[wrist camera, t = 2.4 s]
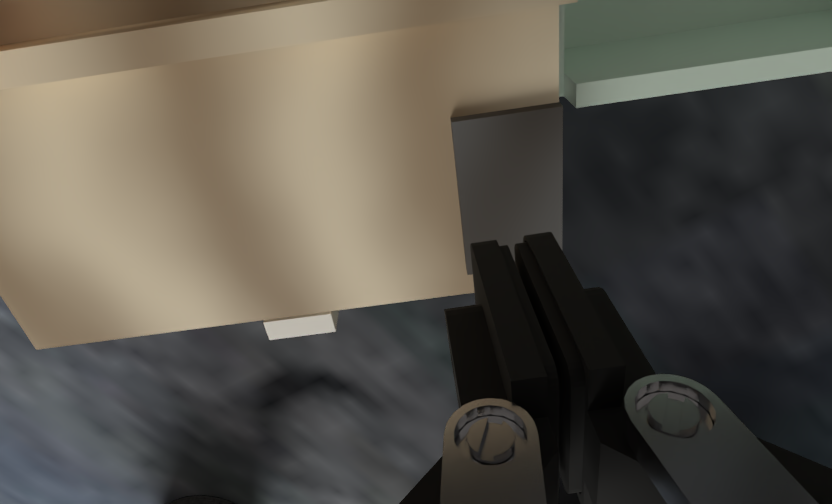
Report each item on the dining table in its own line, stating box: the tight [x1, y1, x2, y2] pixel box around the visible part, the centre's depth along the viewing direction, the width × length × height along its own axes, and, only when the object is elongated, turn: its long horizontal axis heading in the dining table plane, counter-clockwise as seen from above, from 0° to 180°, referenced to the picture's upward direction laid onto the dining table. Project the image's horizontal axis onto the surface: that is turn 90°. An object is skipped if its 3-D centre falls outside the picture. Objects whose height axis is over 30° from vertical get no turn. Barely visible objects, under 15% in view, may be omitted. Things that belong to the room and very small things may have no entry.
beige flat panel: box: [0, 0, 578, 350], centre depth 14 cm, size 18×16×3 cm
